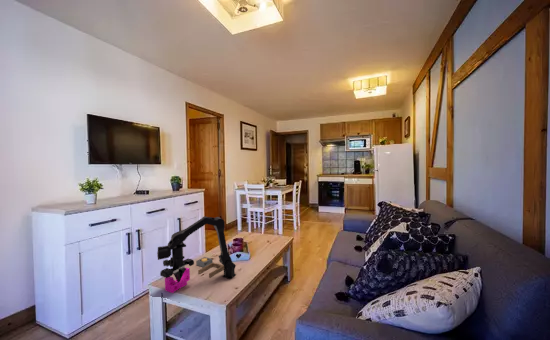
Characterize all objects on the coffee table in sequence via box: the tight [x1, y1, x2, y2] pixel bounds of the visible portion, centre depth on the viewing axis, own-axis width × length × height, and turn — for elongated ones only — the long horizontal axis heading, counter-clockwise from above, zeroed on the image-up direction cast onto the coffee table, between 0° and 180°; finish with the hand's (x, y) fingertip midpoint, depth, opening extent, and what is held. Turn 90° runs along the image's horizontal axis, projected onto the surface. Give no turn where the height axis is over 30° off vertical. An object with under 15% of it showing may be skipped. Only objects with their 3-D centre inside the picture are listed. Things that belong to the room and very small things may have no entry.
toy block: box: [164, 266, 191, 294], centre depth 135 cm, size 15×6×8 cm, turn 155°
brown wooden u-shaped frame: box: [197, 262, 224, 279], centre depth 152 cm, size 11×14×2 cm
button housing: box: [195, 256, 214, 268], centre depth 164 cm, size 8×8×3 cm
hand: (178, 281), depth 129 cm, fingers closed
